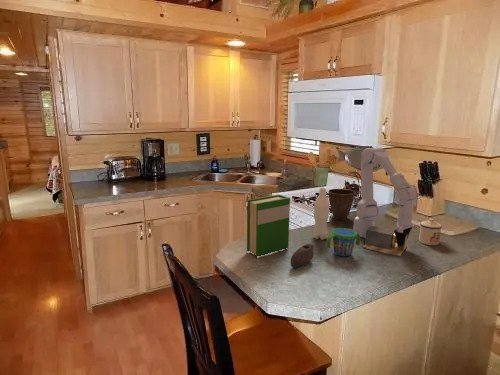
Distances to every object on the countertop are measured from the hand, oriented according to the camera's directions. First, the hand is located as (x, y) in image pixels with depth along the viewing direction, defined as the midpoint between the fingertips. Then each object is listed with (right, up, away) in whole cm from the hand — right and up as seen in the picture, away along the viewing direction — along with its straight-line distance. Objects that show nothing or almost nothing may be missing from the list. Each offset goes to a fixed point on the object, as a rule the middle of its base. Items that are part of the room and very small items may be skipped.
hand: (402, 243), depth 154 cm
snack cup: (-27, -4, -3) cm, 28 cm away
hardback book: (-60, -3, -1) cm, 60 cm away
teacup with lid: (+19, -1, +12) cm, 22 cm away
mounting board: (-6, -2, +5) cm, 8 cm away
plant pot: (-15, +7, +47) cm, 50 cm away
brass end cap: (-5, -2, +4) cm, 7 cm away
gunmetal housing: (-7, -2, +6) cm, 10 cm away
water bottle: (-33, 0, +15) cm, 37 cm away
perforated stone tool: (-47, -6, -14) cm, 49 cm away
